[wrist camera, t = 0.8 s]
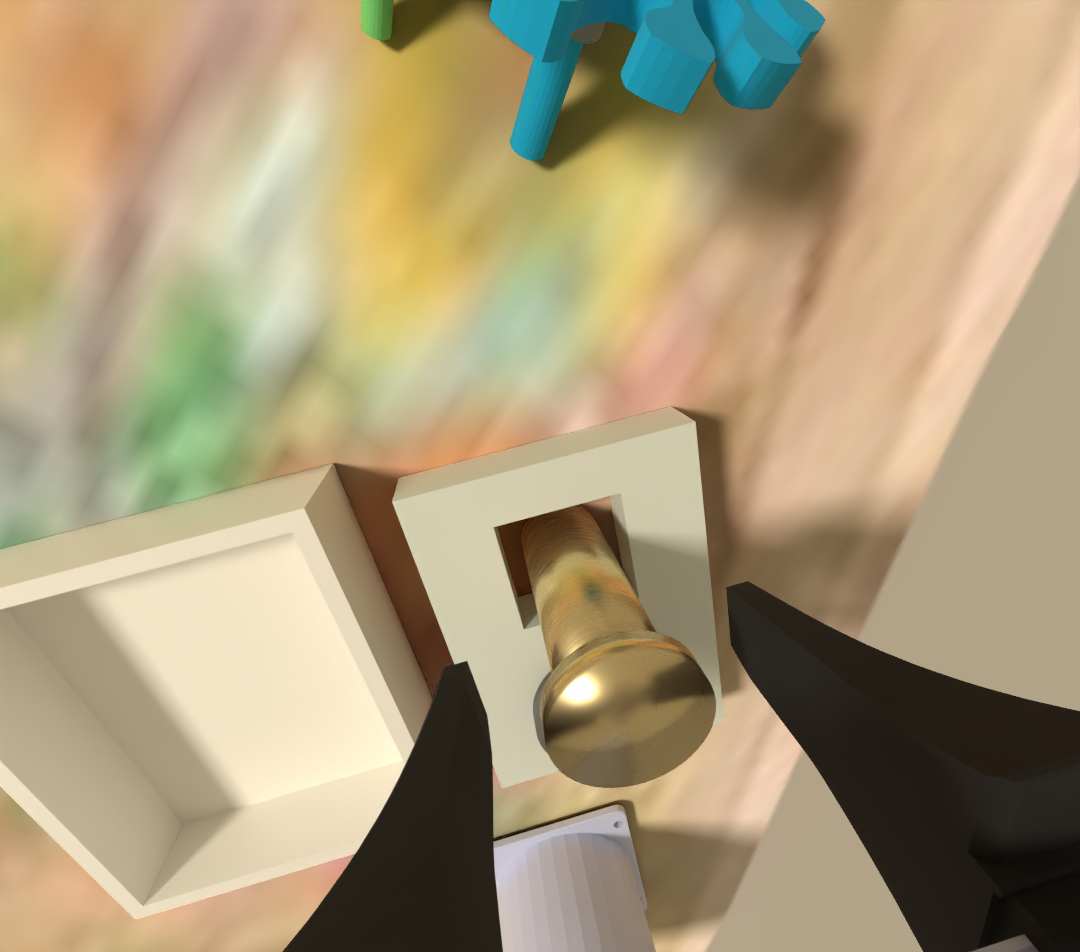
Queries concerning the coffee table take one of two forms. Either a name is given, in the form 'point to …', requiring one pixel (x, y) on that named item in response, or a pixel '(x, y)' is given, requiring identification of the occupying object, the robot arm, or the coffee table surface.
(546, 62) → the gear
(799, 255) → the coffee table surface
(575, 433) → the block
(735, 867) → the coffee table surface
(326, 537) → the tray
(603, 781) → the pin
